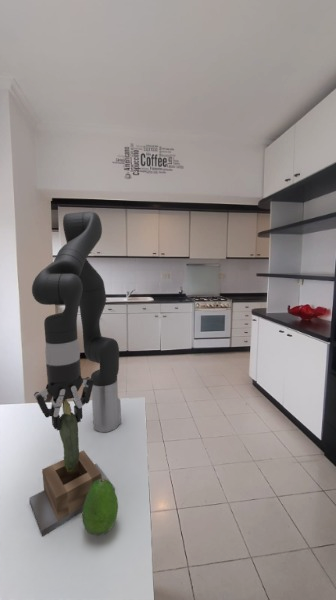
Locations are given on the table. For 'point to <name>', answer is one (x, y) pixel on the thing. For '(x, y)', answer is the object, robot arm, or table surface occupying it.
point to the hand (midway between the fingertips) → (67, 424)
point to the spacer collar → (64, 492)
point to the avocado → (100, 507)
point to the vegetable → (69, 437)
